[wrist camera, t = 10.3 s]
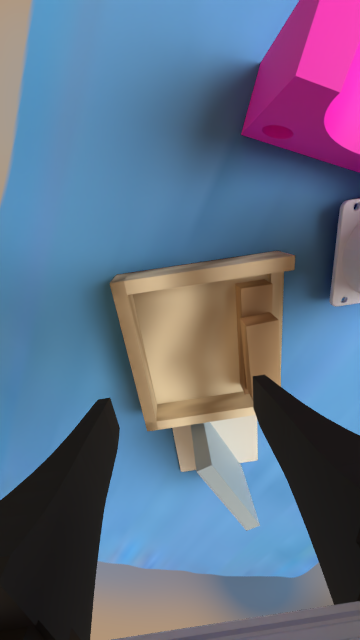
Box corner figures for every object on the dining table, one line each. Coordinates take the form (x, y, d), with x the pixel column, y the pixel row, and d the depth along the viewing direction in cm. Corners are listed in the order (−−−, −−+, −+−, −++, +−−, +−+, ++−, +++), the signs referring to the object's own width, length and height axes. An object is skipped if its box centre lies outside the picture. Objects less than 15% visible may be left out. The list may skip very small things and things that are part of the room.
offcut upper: (269, 312, 19) (278, 320, 18) (273, 383, 22) (281, 395, 20) (239, 318, 19) (246, 326, 18) (246, 388, 22) (252, 400, 20)
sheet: (201, 409, 25) (212, 464, 19) (241, 465, 28) (259, 525, 23) (189, 415, 25) (196, 471, 19) (230, 470, 29) (246, 530, 23)
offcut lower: (264, 279, 20) (272, 284, 18) (264, 379, 24) (271, 390, 22) (235, 283, 20) (240, 288, 18) (239, 383, 24) (245, 394, 22)
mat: (255, 404, 25) (256, 407, 25) (256, 457, 29) (257, 460, 28) (170, 417, 25) (170, 420, 25) (180, 468, 28) (181, 471, 28)
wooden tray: (277, 250, 19) (295, 255, 17) (274, 390, 25) (287, 410, 22) (116, 274, 19) (109, 283, 17) (149, 409, 25) (147, 431, 22)
